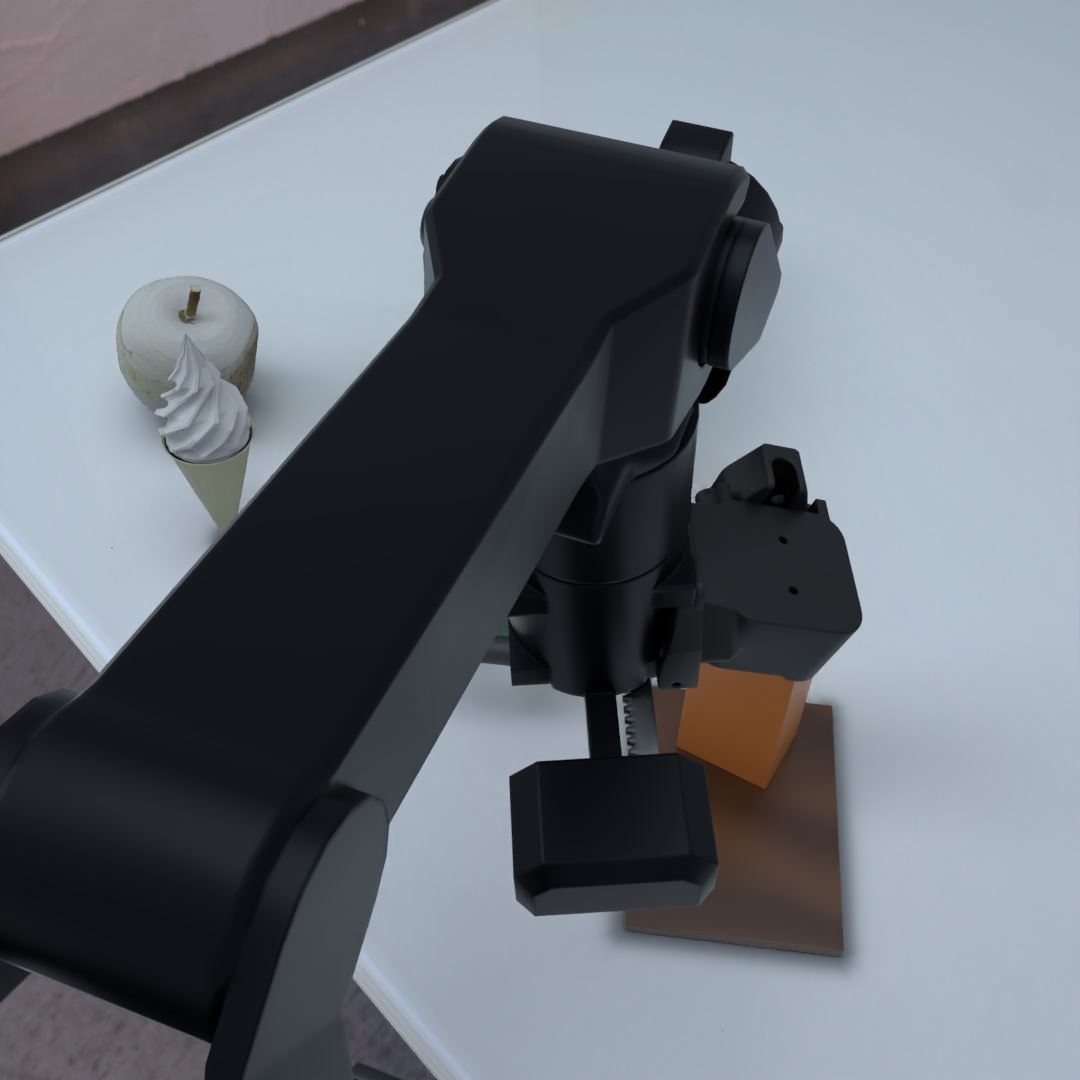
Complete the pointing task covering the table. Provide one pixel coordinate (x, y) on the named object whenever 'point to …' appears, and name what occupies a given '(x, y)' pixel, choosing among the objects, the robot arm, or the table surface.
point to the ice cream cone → (207, 433)
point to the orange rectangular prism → (741, 720)
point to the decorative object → (159, 329)
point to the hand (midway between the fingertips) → (593, 750)
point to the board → (765, 847)
